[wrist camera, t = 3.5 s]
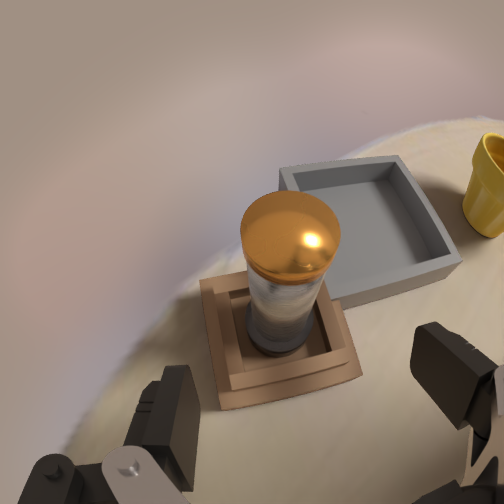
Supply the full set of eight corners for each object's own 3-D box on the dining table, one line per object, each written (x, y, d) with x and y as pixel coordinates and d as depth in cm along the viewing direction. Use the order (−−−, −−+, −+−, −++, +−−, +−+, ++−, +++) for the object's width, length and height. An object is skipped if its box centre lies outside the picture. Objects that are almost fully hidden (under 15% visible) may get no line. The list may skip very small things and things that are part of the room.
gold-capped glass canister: (299, 293, 22) (326, 176, 12) (315, 349, 20) (369, 268, 10) (241, 306, 22) (220, 193, 12) (253, 363, 20) (241, 296, 9)
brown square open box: (317, 272, 26) (326, 244, 23) (351, 380, 21) (369, 371, 17) (205, 295, 26) (195, 271, 22) (226, 410, 20) (218, 409, 17)
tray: (389, 176, 33) (398, 155, 30) (445, 278, 25) (462, 260, 22) (278, 192, 31) (279, 168, 28) (320, 316, 24) (327, 300, 21)
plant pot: (434, 196, 31) (467, 135, 23) (474, 179, 33) (503, 128, 24) (485, 263, 26) (533, 211, 17) (518, 235, 28) (557, 188, 19)
